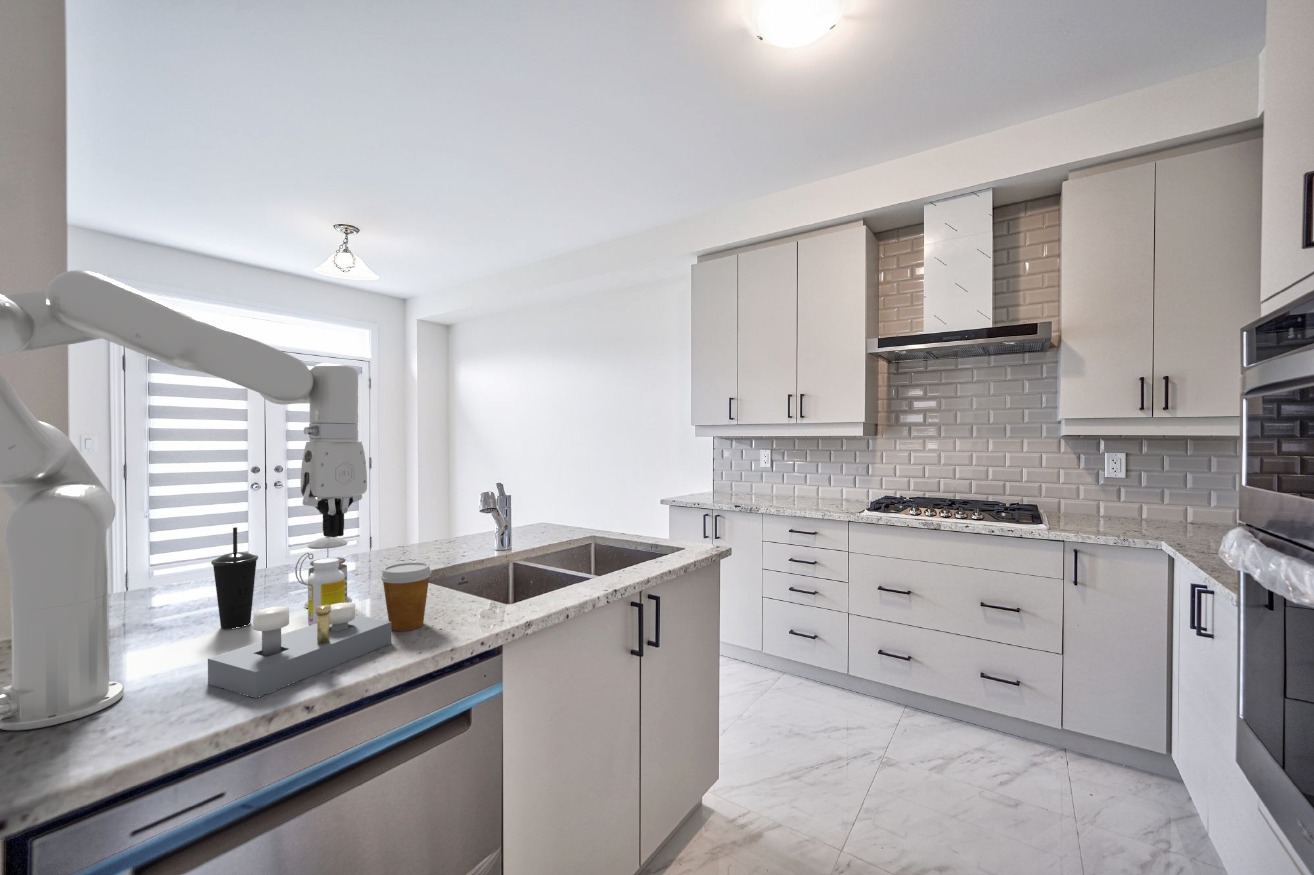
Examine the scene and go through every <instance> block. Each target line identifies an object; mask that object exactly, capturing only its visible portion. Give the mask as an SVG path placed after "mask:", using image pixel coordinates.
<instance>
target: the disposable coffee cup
mask: <svg viewBox="0 0 1314 875" xmlns="http://www.w3.org/2000/svg"><path fill="white" fill-rule="evenodd" d="M431 574H432V570H431V567H430V565H429V563H425V562H418V561H417V562H413V561H412V562H402V563H394V564H391V565H388V566H385V567H383V570H382V573H381V574H380V575H379V576H380V579H381V581H382V584H383V589H384V590H383V592H384V597H385V604H386V610H387V611H386V612H387V618H388V620H387V621H390V622H391V631H394V632H405V631H412V630H416V629H418V628H420V627H422V626H423V625H424V619H425V614H426V613H425V612H426V604H427V597H428V588H429V581H430V577H431Z"/></svg>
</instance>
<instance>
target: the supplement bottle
mask: <svg viewBox="0 0 1314 875" xmlns="http://www.w3.org/2000/svg"><path fill="white" fill-rule="evenodd" d="M337 558H338V557H328V558H327V557H325V559H324V558H319V559H320V560H318V559H315V560H316V561H314V560H313V561H314V562H313V566H312V567H313V568H314V569H315V571H314V573H313V574H312V573H311V574H310V576H309V578H307V584H308V586H307V601H308V609H307V611H308V612H307V616H308V617H307V619H308V625H309V626H310V625H313V624H316V623H317V614H316V607H317V606H321V605H332V604H337V603H345V575H344V573H343V572H342V571H340V570H338V567H339V559H337Z"/></svg>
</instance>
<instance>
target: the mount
mask: <svg viewBox="0 0 1314 875" xmlns="http://www.w3.org/2000/svg"><path fill="white" fill-rule="evenodd" d="M387 644H388V645H390V644H392V630H391V622H390V621H389V620H383V619H378V618H373V617H368V616H363V615H358V614H355V619H353V620H352V621H349V622H348V629H345V630H342V631H339V632H334V631H332V624H330V641H329V642H328V643H325V644H317V623H316V624H313V625H310V624H309V625H307V626H305V627H304V626H303V627H300V628H298V629H295V630H291V631H289V632H286V633H281V652H280V653H277V654H274V655H271V656H262V640H260V641H258V642H255V643H252V644H248V645H246V646H243V647H240V648H236V649H234V650H231V651H227V652H223V653H221V654H219V655H214V656H212V657H209V658H207V685H209V684H210V685H209V686H212V687H216V686H217V688H219V689H222V688H224V689H223V690H226V691H229V690H231V691H230V692H232V691H233V693H235V692H237V693H236V694H238V693H241V694H240V695H242V694H245V695H248V696H253V697H254V698H253V699H255V698H257V697H259V696H262V697H264V696H265V695H264V694H267V695H269V694H270V693H269V692H271V693H273V692H272V691H274V690H276V691H278V690H277V689H279V688H281V689H283V688H282V687H283V686H286V687H288V686H289V685H288V684H291V685H293V684H294V683H293V682H296V683H298V682H300V681H299V680H301V681H302V679H303V680H305V679H308V678H311V677H312V676H315V675H317V674H320V673H322V672H325V671H328V670H329V669H332V668H334V667H337V666H339V665H341V663H342V664H344V663H346V662H349V661H352V660H354V659H356V658H359V657H361V656H364V655H366V654H368V652H369V653H371V652H373V651H375V650H378V649H380V648H383V647H385V645H386V646H388V645H387ZM382 646H383V647H382ZM297 681H298V682H297ZM292 683H293V684H292ZM287 685H288V686H287ZM279 690H280V689H279ZM274 692H275V691H274ZM268 693H269V694H268ZM245 695H244V696H245ZM263 695H264V696H263ZM248 696H247V697H248ZM259 698H260V697H259ZM257 699H258V698H257Z"/></svg>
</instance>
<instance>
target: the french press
mask: <svg viewBox="0 0 1314 875" xmlns="http://www.w3.org/2000/svg"><path fill="white" fill-rule="evenodd" d="M348 542H349V541H348V540H346V539H343V538H341V537H327V536H324V537H321V538H318V539H315V540H312V541H311V542H310V543H308V545H307V548H308V549H311V550H323V549H327V550H326V551H327V556H326V557H325V558H323V559H326V558H329V549H335V548H340V547H344V546H347V544H348ZM305 555H306V556H305ZM304 556H305V557H304ZM310 556H311V557H310ZM303 557H304V559H303V560H302V561H301V563H300V560H301V559H302V558H303ZM307 558H308V559H309V560H313V559H314V554H313V553H309V552H306V553H304V554H303V555H301V556H300V558H299V559H297V562H296V565H295V569H294V571H295V572H294V573H295V577H296V579H297V582H298V583H300V584H301V585H304V586H307V587H308V583H306V581H305V582H304V579H303V578H302V566H303V563H304V561H305V560H306V559H307ZM336 558H337V559H339V567H338V570H340V571H342V572H343V573H344V575H345V603H349V602H350V603H353V602H352V601H353V598H351V597H350V596H349V595H348V565H347V564H344V563H345V562H346V558H344V557H336ZM320 559H321V558H318V559H314V560H313V561H310V562H309V565H311V566H312V567H310V568H308V576H307V577H308V578H309V576H310V575H311V574H313V573H314V571H315V569H314V568H313V562H314V561H316V560H320ZM299 563H300V567H299V570H298V569H297V568H298V564H299ZM298 571H299V577H298ZM308 578H307V579H308ZM303 606H305V608H304V609H306V608H308V600H307V601H306V602H305V603H304V605H303Z"/></svg>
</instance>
